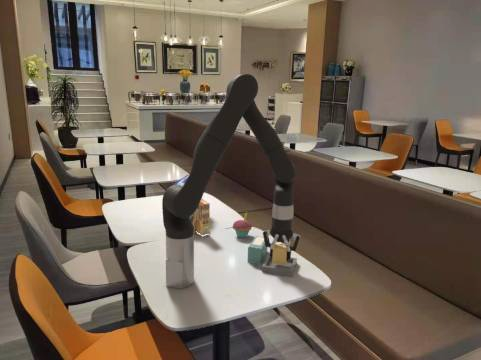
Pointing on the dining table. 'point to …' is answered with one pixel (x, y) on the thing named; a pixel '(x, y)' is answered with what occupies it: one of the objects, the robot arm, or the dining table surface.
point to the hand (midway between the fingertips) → (280, 258)
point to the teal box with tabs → (257, 250)
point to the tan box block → (279, 254)
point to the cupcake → (242, 227)
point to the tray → (279, 266)
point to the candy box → (202, 218)
